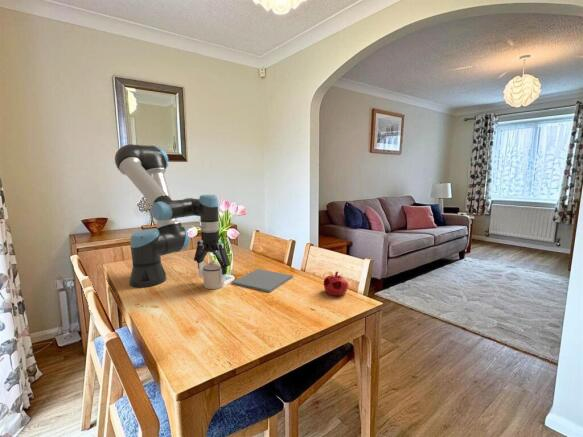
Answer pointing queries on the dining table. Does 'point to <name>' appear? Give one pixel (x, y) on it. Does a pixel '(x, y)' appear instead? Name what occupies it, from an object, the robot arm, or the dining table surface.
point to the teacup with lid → (212, 275)
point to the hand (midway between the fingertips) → (212, 278)
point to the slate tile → (263, 280)
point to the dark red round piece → (335, 285)
